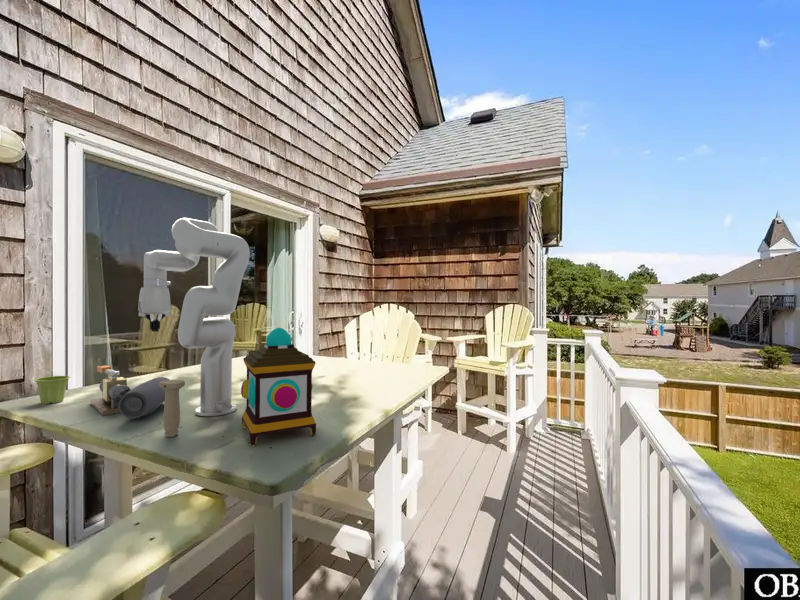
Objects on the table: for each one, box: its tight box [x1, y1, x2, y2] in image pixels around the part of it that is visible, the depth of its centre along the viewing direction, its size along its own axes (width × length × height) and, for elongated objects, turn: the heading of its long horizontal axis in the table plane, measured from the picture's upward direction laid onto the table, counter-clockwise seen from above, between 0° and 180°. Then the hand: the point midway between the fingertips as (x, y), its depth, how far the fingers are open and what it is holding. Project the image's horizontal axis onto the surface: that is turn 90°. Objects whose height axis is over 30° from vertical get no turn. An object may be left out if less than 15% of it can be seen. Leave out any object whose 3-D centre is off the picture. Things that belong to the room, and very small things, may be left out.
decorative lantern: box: [240, 327, 317, 446], centre depth 110 cm, size 20×20×30 cm
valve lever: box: [96, 365, 120, 377], centre depth 138 cm, size 14×3×2 cm, turn 54°
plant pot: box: [34, 375, 71, 405], centre depth 139 cm, size 9×9×9 cm
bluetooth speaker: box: [118, 376, 170, 419], centre depth 128 cm, size 23×9×10 cm, turn 13°
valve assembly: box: [90, 375, 132, 416], centre depth 135 cm, size 20×12×11 cm, turn 48°
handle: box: [159, 379, 186, 438], centre depth 106 cm, size 5×6×15 cm
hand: (154, 331), depth 149 cm, fingers closed
